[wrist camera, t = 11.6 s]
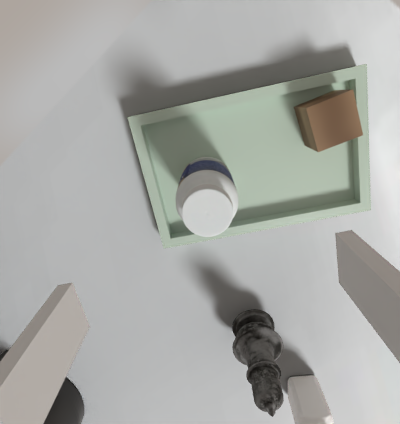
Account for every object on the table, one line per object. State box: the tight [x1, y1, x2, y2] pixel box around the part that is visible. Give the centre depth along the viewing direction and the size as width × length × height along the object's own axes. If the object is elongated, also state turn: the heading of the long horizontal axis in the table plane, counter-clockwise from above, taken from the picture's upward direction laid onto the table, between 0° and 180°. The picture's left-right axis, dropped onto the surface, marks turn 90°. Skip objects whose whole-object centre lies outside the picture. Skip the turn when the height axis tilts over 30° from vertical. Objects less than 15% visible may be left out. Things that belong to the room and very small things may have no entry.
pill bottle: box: [176, 157, 238, 237], centre depth 29 cm, size 5×5×10 cm
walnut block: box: [294, 89, 363, 152], centre depth 29 cm, size 4×4×4 cm
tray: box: [127, 64, 371, 249], centre depth 32 cm, size 22×14×2 cm, turn 102°
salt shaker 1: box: [233, 310, 283, 417], centre depth 35 cm, size 6×6×12 cm
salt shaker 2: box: [288, 375, 333, 424], centre depth 39 cm, size 4×4×10 cm
